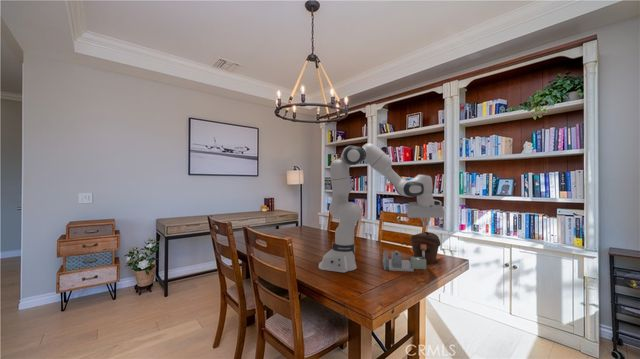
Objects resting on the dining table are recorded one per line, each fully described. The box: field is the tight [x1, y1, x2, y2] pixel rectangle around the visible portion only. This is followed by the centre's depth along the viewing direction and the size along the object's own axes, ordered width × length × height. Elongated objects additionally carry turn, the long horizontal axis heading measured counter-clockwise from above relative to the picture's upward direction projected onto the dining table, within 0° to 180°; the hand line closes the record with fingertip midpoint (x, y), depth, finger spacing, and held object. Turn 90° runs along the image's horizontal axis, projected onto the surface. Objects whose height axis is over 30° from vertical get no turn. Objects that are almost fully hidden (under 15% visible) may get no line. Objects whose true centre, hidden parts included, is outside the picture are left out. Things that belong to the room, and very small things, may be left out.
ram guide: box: [409, 256, 427, 270], centre depth 159 cm, size 8×6×5 cm
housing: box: [391, 250, 403, 266], centre depth 161 cm, size 5×8×8 cm, turn 171°
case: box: [409, 231, 442, 264], centre depth 173 cm, size 18×20×18 cm
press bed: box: [382, 251, 415, 272], centre depth 161 cm, size 16×16×6 cm
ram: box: [413, 244, 426, 260], centre depth 159 cm, size 8×3×10 cm, turn 81°
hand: (425, 225), depth 158 cm, fingers closed
